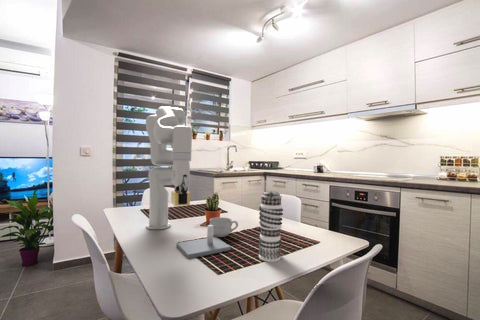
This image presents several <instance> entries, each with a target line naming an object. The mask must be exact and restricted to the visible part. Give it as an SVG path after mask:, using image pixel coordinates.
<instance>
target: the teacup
mask: <svg viewBox="0 0 480 320" xmlns="http://www.w3.org/2000/svg"><path fill="white" fill-rule="evenodd" d="M233 224H235V227H233V228H232V226H233ZM209 225H213V237H217V238H222V237H223V238H225V237H227V236H229V234H231V233H232V232H233V231H235V230H236V229H237V228H238V226H239V223H238V221H237V220H232V218H229V217H221V216H220V217H219V216H218V217H212V218H210V219H209Z"/></svg>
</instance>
